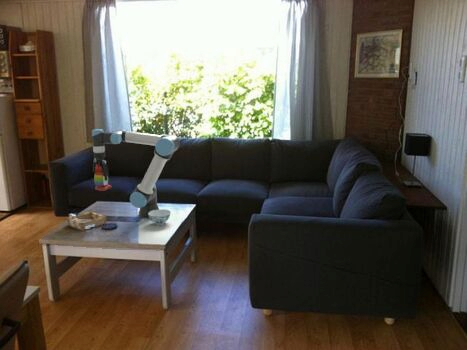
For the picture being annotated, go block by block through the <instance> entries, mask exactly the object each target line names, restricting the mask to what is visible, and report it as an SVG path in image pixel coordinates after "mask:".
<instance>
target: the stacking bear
mask: <svg viewBox="0 0 467 350" xmlns="http://www.w3.org/2000/svg"><path fill="white" fill-rule="evenodd" d="M95 169H96V173H94V176H93V177H94V178H93V182H94V185H95V188H94V189H95V190H96V191H100V192H101V191H102V192H105V191H107V190H109V189H112V185H111V184H108V185H104V183H103V172H102V168H101V167H100V165H99V164H98V165H96V167H95ZM107 182H108V183H109V175H107Z"/></svg>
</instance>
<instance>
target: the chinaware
mask: <svg viewBox="0 0 467 350" xmlns="http://www.w3.org/2000/svg"><path fill="white" fill-rule="evenodd" d="M148 215H149V219H150V221H151V222H152V223H154V225H156V226H161V225H165V224H166V222H167V221H168V220H169V219H170V217H171V210H169V209H164V208H163V209H160V208H159V210H153V211H150V212H149V213H148Z"/></svg>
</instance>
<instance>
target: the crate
mask: <svg viewBox="0 0 467 350" xmlns="http://www.w3.org/2000/svg"><path fill="white" fill-rule="evenodd" d="M74 217H76V218H78V219H91V221H88V222H78V221H76V220H73V219H74ZM105 223H107V216H106V215H102V214H100V213H96V212H93V211H92V210H90V211H89V212H86V213H82V214H79V215H75V216H72V217H69V216H68V217H67V226H69V227H71V228H74V229H76V230H79V231H82V232H85V231H86V230H85V227H86V226H88V225H92V224H95V226H96V227H95V228H97V227H100V225H101V226H103V224H104V225H106V224H105Z"/></svg>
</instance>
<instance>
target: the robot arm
mask: <svg viewBox="0 0 467 350" xmlns="http://www.w3.org/2000/svg"><path fill="white" fill-rule="evenodd" d="M91 138H92V151H93V159H92V162H93V163H92V173H94V174H95V173H96V169H95V167H96V165H98V164H99V165H100V167H101V168H102V172H103V183H104V185H109V181H108V182H107V176H110V173H109V172H110V171H109V168H108V167H109V166H108V160H105V158H106V152H105V151H106V147H105V145H106V144H108V145H109V144H110V145H118V144H120V143H121V142H124V143H133V144H138V145H139V144H141V145H148V146H149V145H150V146H153V147H154V146H155V147H154V148H155V149H154V151H153V153H154V157H152V160H151V162H150V164H149V167H148V168H147V171H146V172H145V174H144V177H143V178H142V180H141V182H140V183H139V184H137V186H136V187H135V189H134V191H133V192H132V193H131V194H130V197H129V201H130V204H131V205H132V206H133V207H135V208H136V209H139V210H138V215H139V216H138V217H141V218H144V219H145V218H146V219H147V218H149V215H148V213H149V212H150V211H153V210H159V209H160V208H159V205H158V197H157V195H158V194H157V186H156V182H157V181H158V179H159V177H160V175H161V173H162V171H163V168H164V167H165V164H166V163H167V161H169V160H171V158H172V156H173V154H174V153H175V152H176V151H177V150H178V149H179V148H180V144H181V142H180V140H179V139H180V138H178V137H177V136H176V135H175V134H166V133H165V134H163V133H162V134H161V135H159V134H152V133H143V132H137V131H129V130H128V131H127V130H125V129H119V130H116V131H112V132H105V131H104V129H101V128H96V129H92V130H91ZM149 219H150V218H149Z"/></svg>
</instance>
